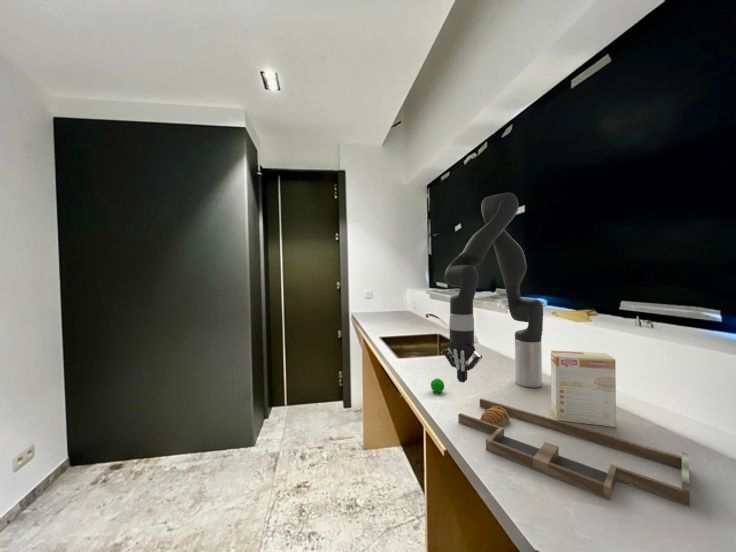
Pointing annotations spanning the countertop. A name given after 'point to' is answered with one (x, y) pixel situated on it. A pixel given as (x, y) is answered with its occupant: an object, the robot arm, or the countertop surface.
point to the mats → (557, 460)
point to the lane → (550, 452)
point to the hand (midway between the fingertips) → (462, 381)
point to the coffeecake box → (583, 387)
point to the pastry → (495, 416)
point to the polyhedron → (437, 385)
